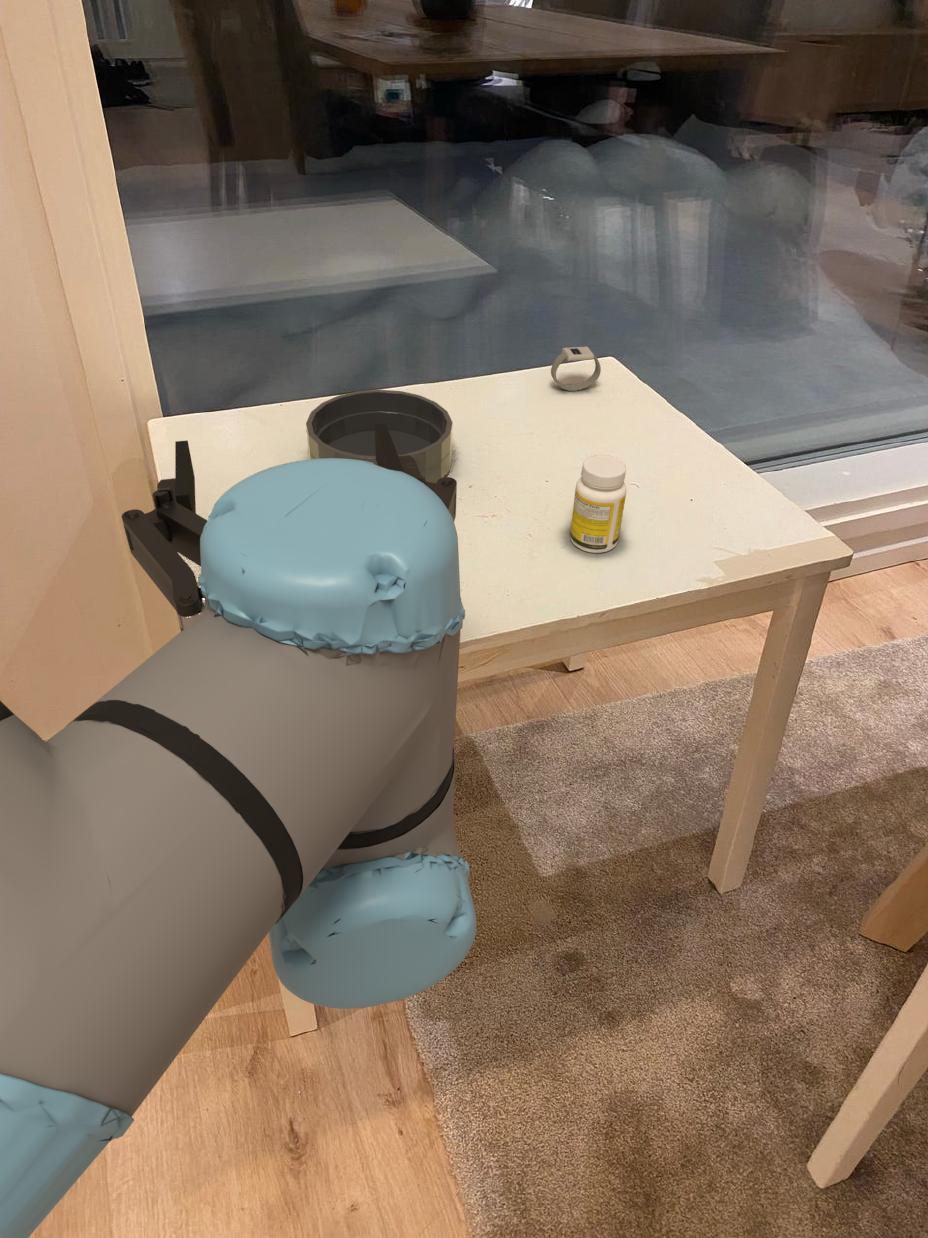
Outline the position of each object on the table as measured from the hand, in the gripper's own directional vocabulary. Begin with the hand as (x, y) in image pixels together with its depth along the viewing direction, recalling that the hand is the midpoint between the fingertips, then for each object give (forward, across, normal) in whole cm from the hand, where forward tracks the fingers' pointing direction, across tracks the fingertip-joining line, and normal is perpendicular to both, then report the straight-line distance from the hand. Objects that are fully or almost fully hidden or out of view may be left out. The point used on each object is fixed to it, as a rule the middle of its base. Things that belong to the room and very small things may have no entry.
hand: (285, 450), depth 58 cm
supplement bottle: (+13, +29, -20) cm, 38 cm away
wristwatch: (+45, +38, -20) cm, 62 cm away
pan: (+31, +11, -20) cm, 39 cm away
